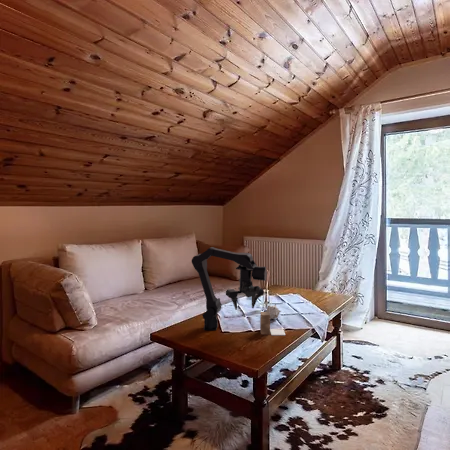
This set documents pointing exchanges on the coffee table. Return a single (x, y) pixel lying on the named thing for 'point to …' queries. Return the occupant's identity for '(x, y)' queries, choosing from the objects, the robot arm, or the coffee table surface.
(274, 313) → the beige lumpy ball
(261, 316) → the cardboard box
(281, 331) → the felt mat
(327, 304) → the coffee table surface
